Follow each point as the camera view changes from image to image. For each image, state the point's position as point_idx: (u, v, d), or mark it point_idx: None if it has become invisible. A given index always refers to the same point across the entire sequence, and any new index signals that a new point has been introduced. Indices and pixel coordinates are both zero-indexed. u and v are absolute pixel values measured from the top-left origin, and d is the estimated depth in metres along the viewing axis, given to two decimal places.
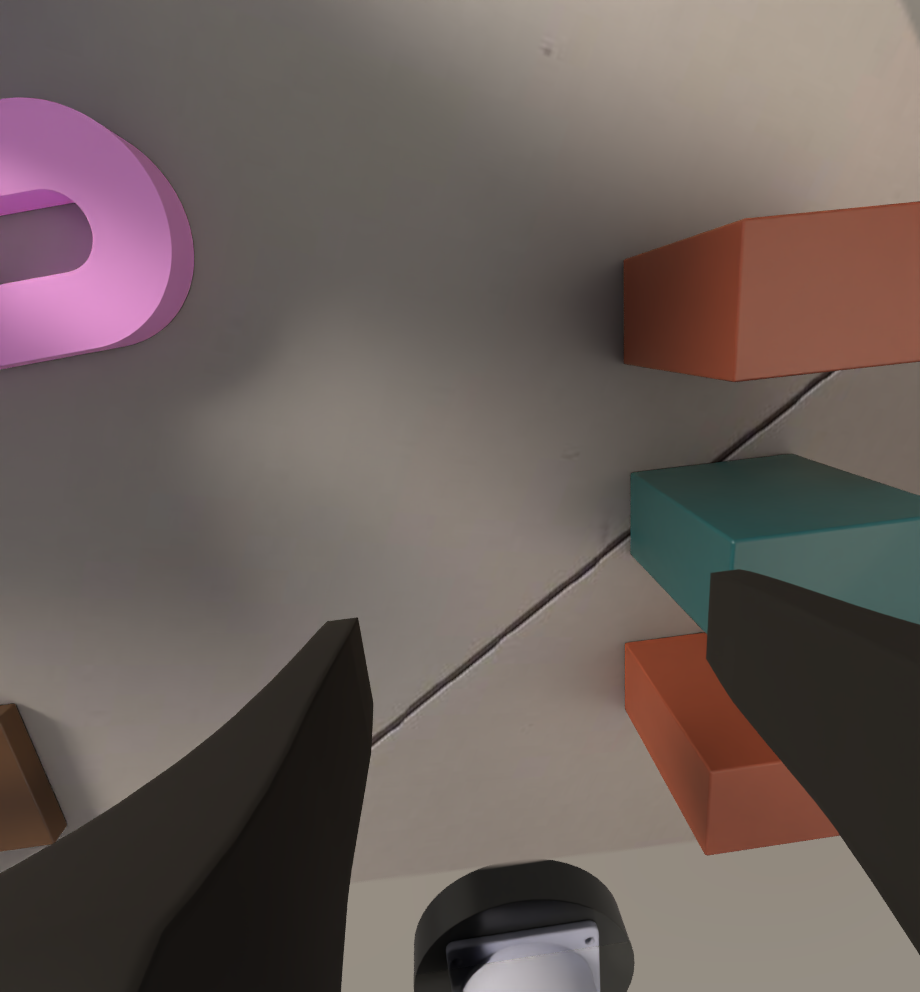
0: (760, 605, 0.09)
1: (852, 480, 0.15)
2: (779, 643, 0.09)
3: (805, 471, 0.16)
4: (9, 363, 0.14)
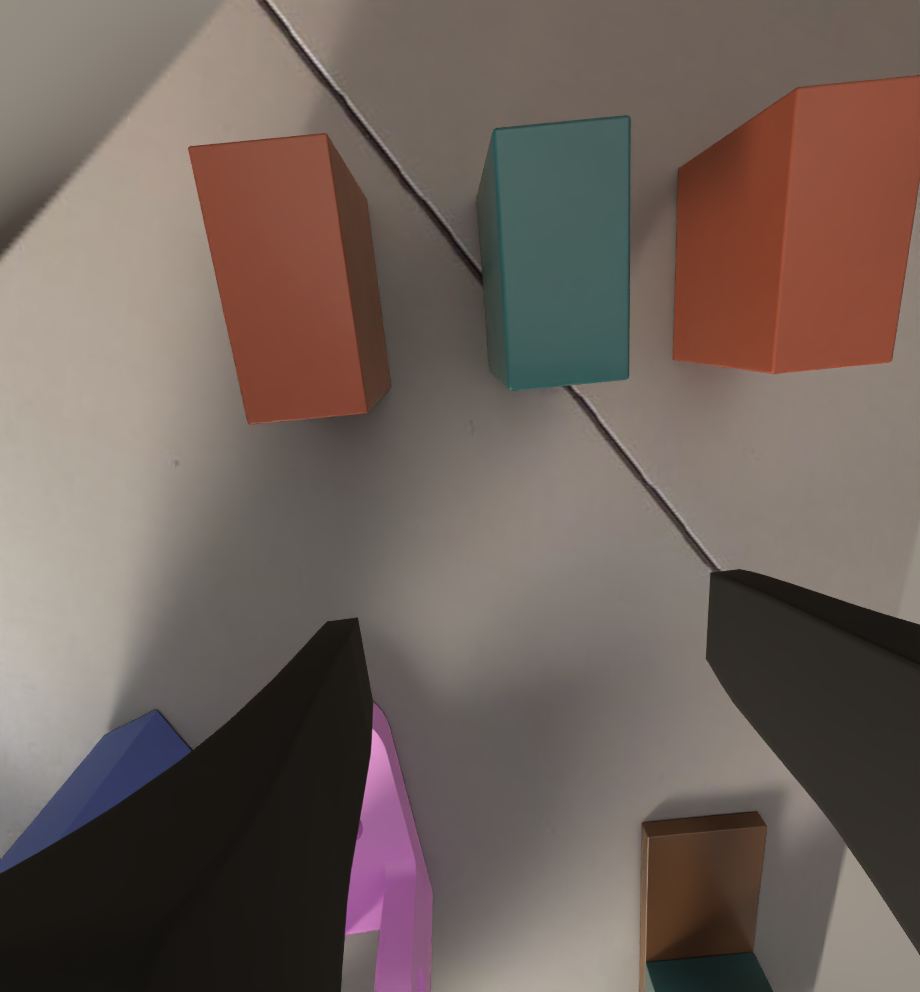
0: (760, 605, 0.09)
1: (484, 188, 0.14)
2: (779, 643, 0.09)
3: (482, 216, 0.15)
4: (397, 793, 0.23)
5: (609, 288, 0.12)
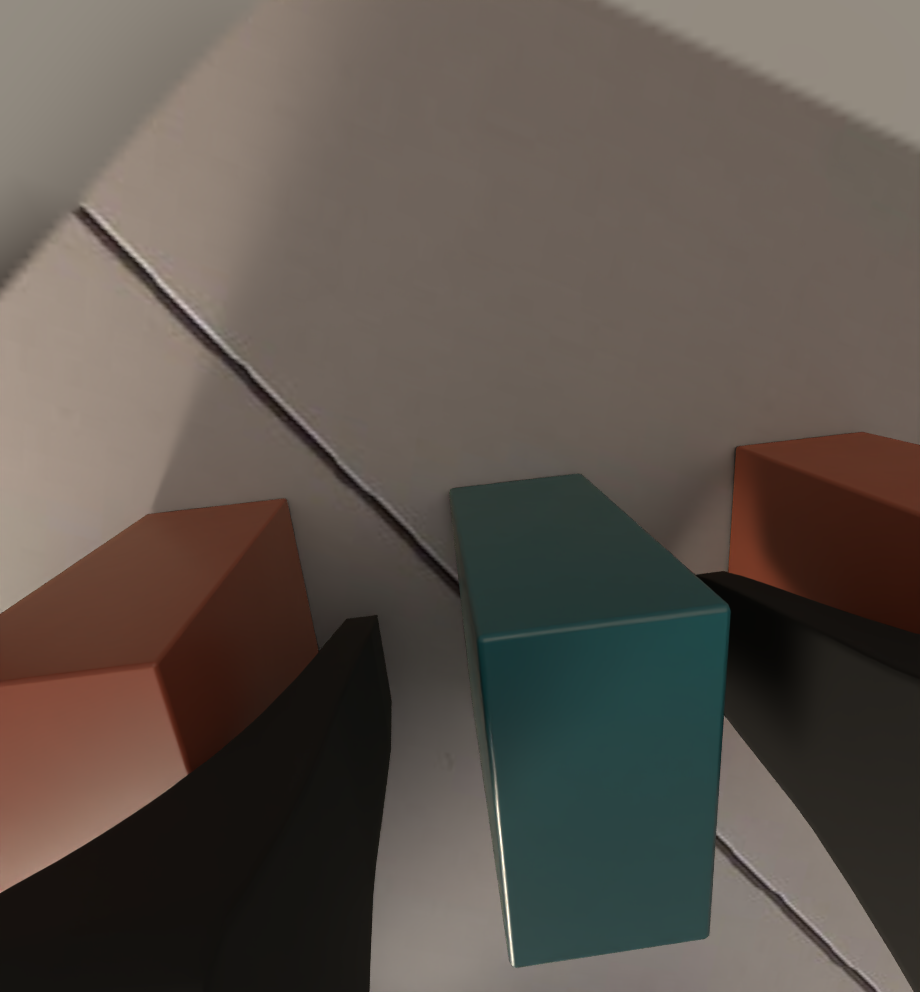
0: (741, 607, 0.09)
1: (461, 573, 0.09)
2: (760, 646, 0.09)
3: (459, 565, 0.10)
4: None
5: (682, 837, 0.07)
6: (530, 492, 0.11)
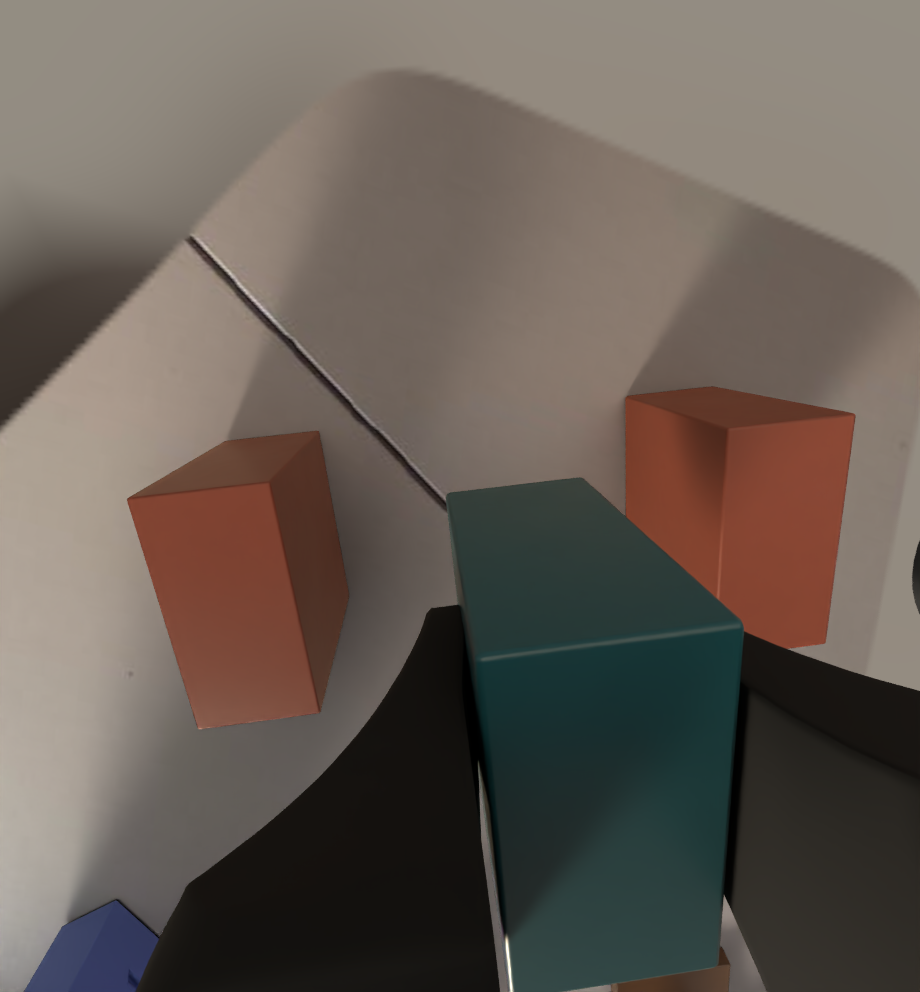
0: None
1: (458, 582, 0.08)
2: None
3: (456, 574, 0.10)
4: None
5: (691, 863, 0.07)
6: (529, 497, 0.10)
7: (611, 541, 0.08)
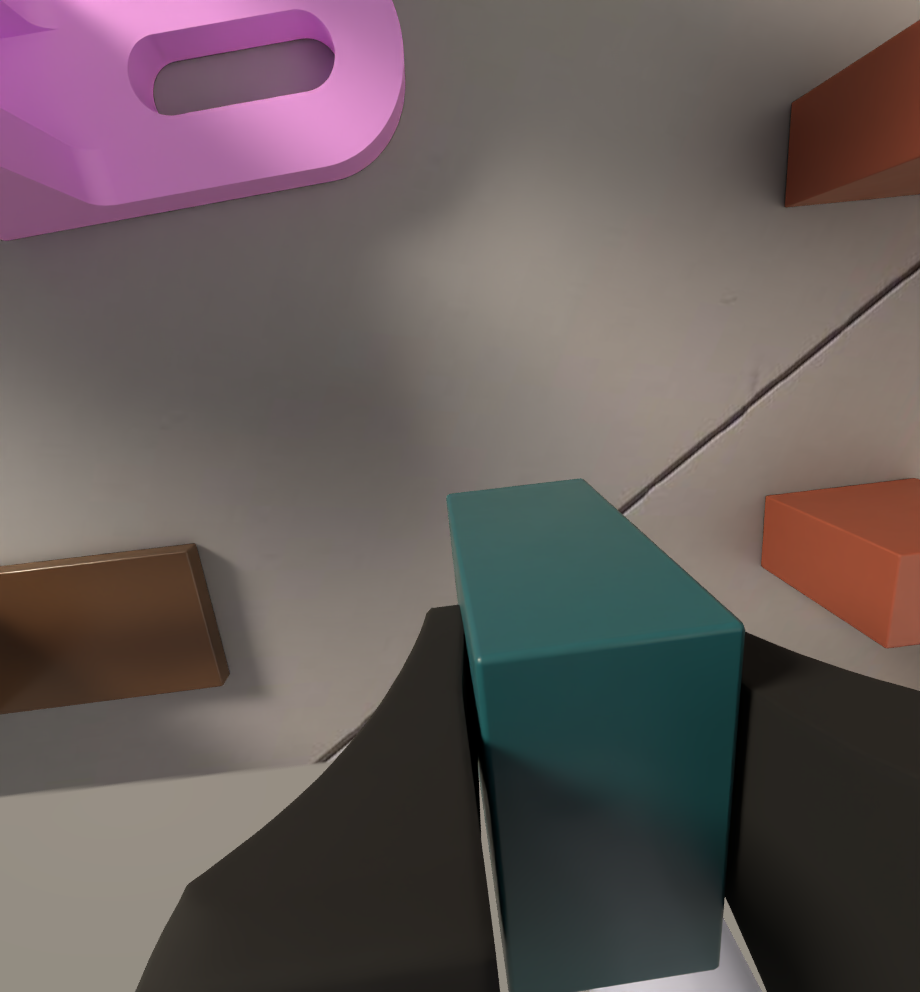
0: None
1: (459, 584, 0.08)
2: None
3: (456, 574, 0.10)
4: (247, 180, 0.15)
5: (692, 865, 0.07)
6: (530, 498, 0.10)
7: (612, 543, 0.08)
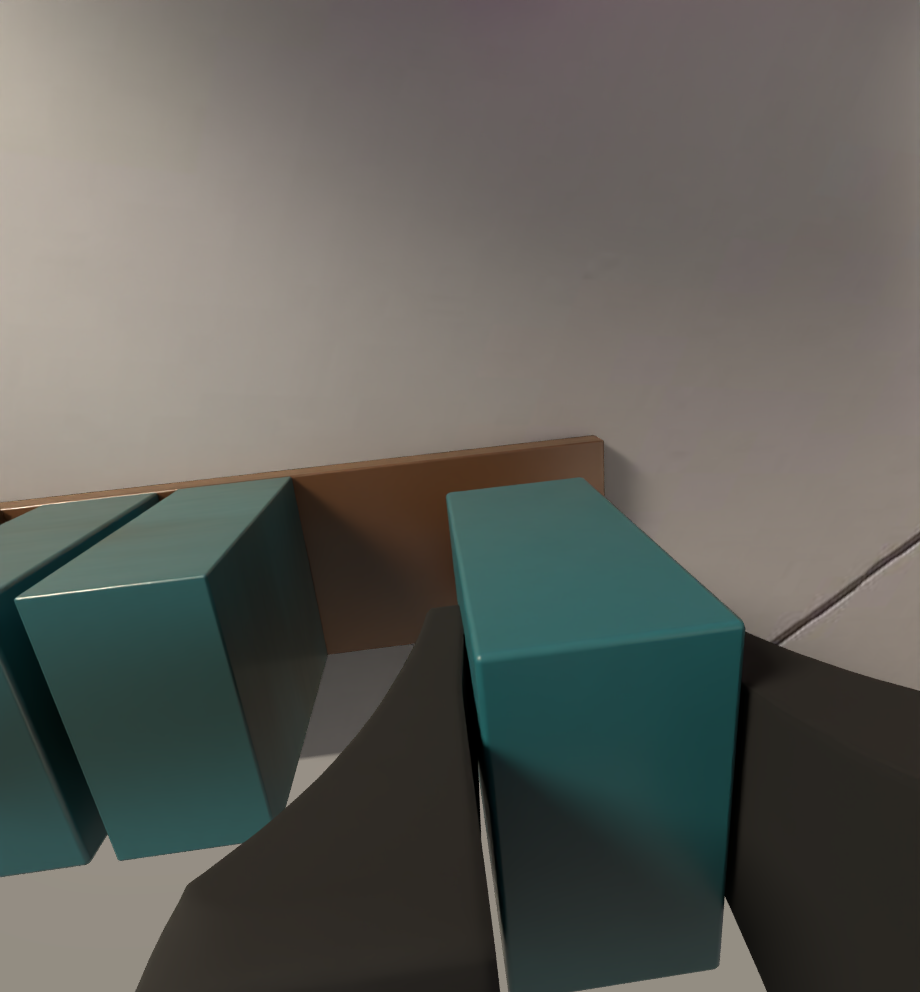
0: None
1: (458, 583, 0.08)
2: None
3: None
4: None
5: (692, 864, 0.07)
6: (530, 497, 0.10)
7: (611, 541, 0.08)
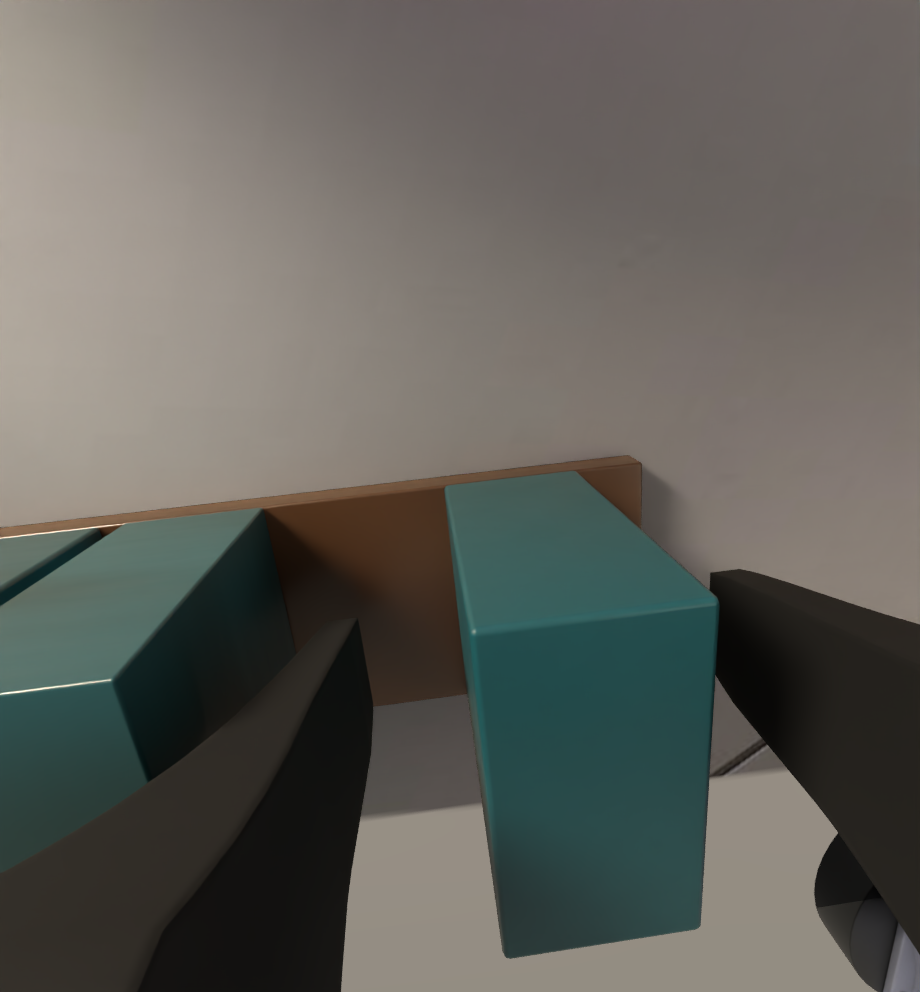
0: (760, 605, 0.09)
1: (455, 568, 0.09)
2: (779, 643, 0.09)
3: (453, 561, 0.10)
4: None
5: (673, 828, 0.07)
6: (524, 489, 0.11)
7: (600, 528, 0.08)
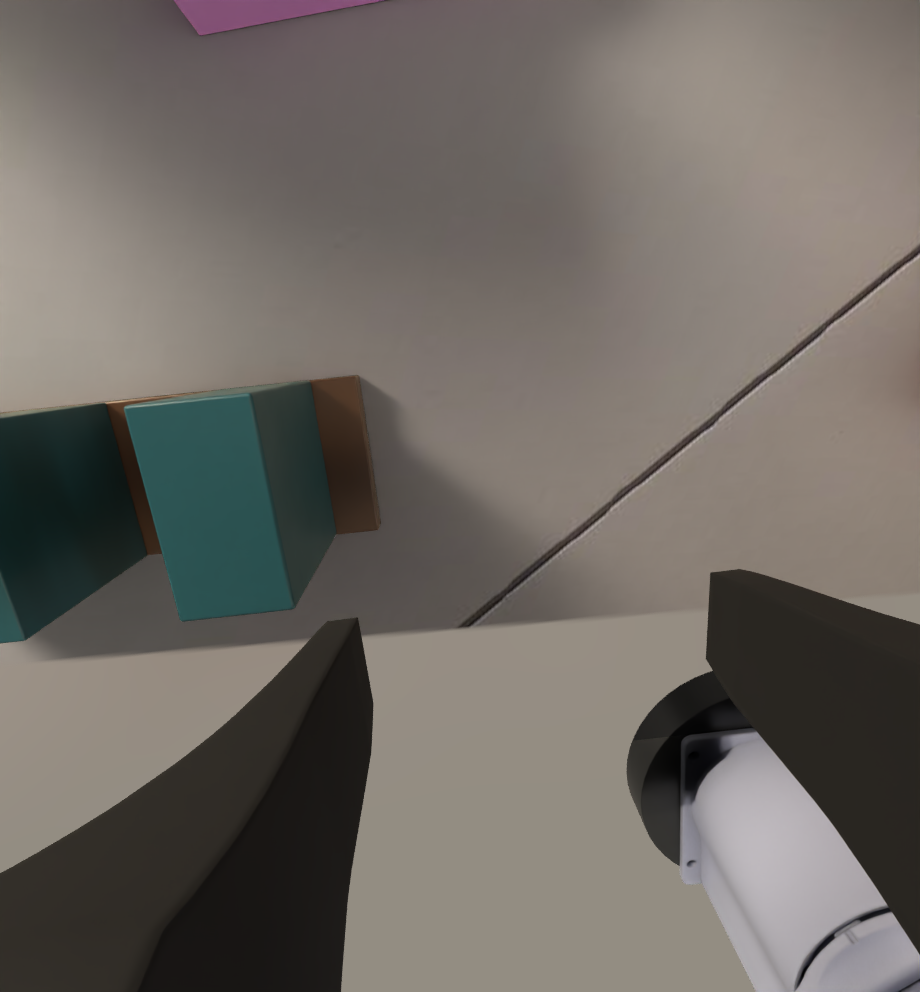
0: (760, 605, 0.09)
1: None
2: (779, 643, 0.09)
3: None
4: None
5: (258, 535, 0.13)
6: (261, 385, 0.17)
7: (258, 388, 0.15)
